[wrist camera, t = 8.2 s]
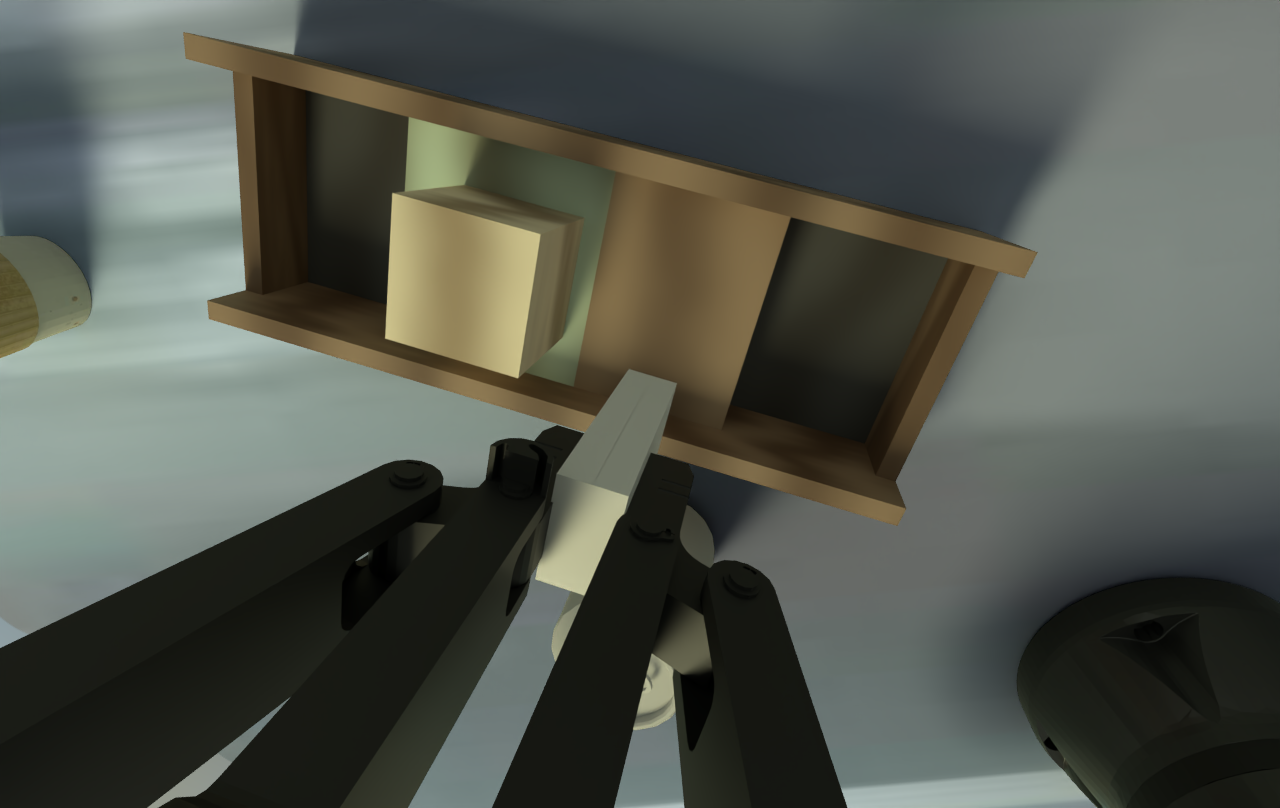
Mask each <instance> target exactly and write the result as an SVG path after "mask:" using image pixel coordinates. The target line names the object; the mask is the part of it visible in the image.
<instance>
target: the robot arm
mask: <svg viewBox="0 0 1280 808" xmlns="http://www.w3.org/2000/svg"><path fill="white" fill-rule="evenodd" d="M676 385H677V383H674V382H671V381H668V380H664V379H661V378H657V377H654V376H651V375H647V374H644V373H640V372H637V371H634V370H630V369H629V370H628V371H627V372H626V374H625V375H624V377H623V378H622V380H621V381H620V383H619V384H618V386H617V387H616V388H615V390H614V391H613V393H612V394H611V396H610V397H609V399H608V400H607V401H606V403H605V404H604V406H603V407H602V409H601V410H600V412H599V413H598V415H597V416H596V417H595V419H594V420H593V422H592V423H591V425H590V426H589V428H588V429H587V430H586V432H585V433H581V432H577V431H574V430H571V429H568V428H565V427H561V426H558V425H557V426H554V427H552V428H549V429H547V430H544V431H542V432H541V434H540V435H539V436H538V437H537V438H536V440H535V441H532V440H527V439H522V438H508V439H503V440H499V441H497V442H495V443H493V444H492V445H491V446H490V453H489V460H488V467H487V474H486V480H485V481H484V482H483V483H482V484H481V485H480V486H479V487H477V488H463V487H453V486H444V485H443V476H442V474H441V472H440V470H438V469H437V468H436V467H434V466H433V465H431V464H428V463H425V462H422V461H417V460H416V461H415V460H400V461H393V462H390V463H387V464H384V465H382V466H380V467H378V468H375V469H373V470H371V471H369V472H367V473H365V474H363V475H361V476H359V477H357V478H355V479H352V480H350V481H348V482H346V483H344V484H342V485H340V486H338V487H336V488H334V489H332V490H330V491H327V492H325V493H323V494H321V495H319V496H317V497H315V498H313V499H311V500H309V501H307V502H304V503H302V504H300V505H298V506H296V507H294V508H292V509H290V510H288V511H286V512H284V513H281V514H279V515H277V516H275V517H273V518H271V519H269V520H267V521H265V522H263V523H261V524H259V525H256V526H254V527H252V528H250V529H248V530H246V531H244V532H242V533H240V534H238V535H236V536H233V537H231V538H229V539H227V540H225V541H223V542H221V543H219V544H217V545H215V546H213V547H211V548H208V549H206V550H204V551H202V552H200V553H198V554H196V555H194V556H192V557H190V558H188V559H185V560H183V561H181V562H179V563H177V564H175V565H173V566H171V567H169V568H167V569H165V570H162V571H160V572H158V573H156V574H154V575H152V576H150V577H148V578H146V579H144V580H142V581H140V582H137V583H135V584H133V585H131V586H129V587H127V588H125V589H123V590H121V591H119V592H117V593H114V594H112V595H110V596H108V597H106V598H104V599H102V600H100V601H98V602H96V603H94V604H91V605H89V606H87V607H85V608H83V609H81V610H79V611H77V612H75V613H73V614H71V615H69V616H66V617H64V618H62V619H60V620H58V621H56V622H54V623H52V624H50V625H48V626H46V627H43V628H41V629H39V630H37V631H35V632H33V633H31V634H29V635H27V636H25V637H23V638H21V639H19V640H16V641H14V642H12V643H10V644H8V645H6V646H4V647H2V648H0V808H147V807H148V806H150V805H151V804H152V803H154V802H155V801H156V800H158V799H159V798H160V797H161V796H163V795H164V794H165V793H166V792H168V791H169V790H170V789H172V788H173V787H174V786H175V785H177V784H178V783H179V782H181V781H182V780H183V779H185V778H186V777H187V776H189V775H190V774H191V773H192V772H194V771H195V770H196V769H198V768H199V767H200V766H201V765H203V764H204V763H205V762H207V761H208V760H209V759H210V758H212V757H213V756H214V755H216V754H217V753H218V752H220V751H221V750H222V749H223V748H225V747H226V746H227V745H229V744H230V743H231V742H233V741H234V740H235V739H236V738H238V737H239V736H240V735H242V734H243V733H244V732H245V731H247V730H248V729H249V728H251V727H252V726H253V725H255V724H256V723H257V722H258V721H260V720H261V719H262V718H264V717H265V716H266V715H267V714H269V713H270V712H271V711H273V710H274V709H275V708H277V707H278V706H279V705H280V704H282V703H283V702H284V701H286V700H287V699H288V698H289V697H290V699H289V700H288V701H287V702H286V703H285V704H284V705H283V706H282V708H281V709H280V710H279V711H278V712H277V713H276V714H275V715H274V716H273V718H272V719H271V720H270V721H269V722H268V723H267V724H266V725H265V726H264V728H263V729H262V730H261V731H260V732H259V733H258V734H257V735H256V737H255V738H254V739H253V740H252V741H251V742H250V743H249V744H248V745H247V747H246V748H245V749H244V750H243V751H242V752H241V753H240V754H239V756H238V757H237V758H236V759H235V760H234V761H233V762H232V763H231V765H230V766H229V767H228V768H227V769H226V770H225V771H224V772H223V773H222V775H221V776H220V777H219V778H218V779H217V780H216V781H215V782H214V783H213V784H212V785H211V786H210V787H209V788H208V789H207V790H205V791H204V792H202V793H201V794H199V795H197V796H195V797H181V798H180V797H179V798H174V799H172V800H171V801H169V802H167V803H166V804H164V805H162V806H161V807H159V808H408V806H409V805H410V803H411V801H412V799H413V797H414V796H415V794H416V792H417V790H418V788H419V787H420V785H421V783H422V781H423V780H424V778H425V776H426V774H427V772H428V771H429V769H430V767H431V765H432V763H433V762H434V760H435V758H436V756H437V755H438V753H439V751H440V749H441V747H442V746H443V744H444V742H445V740H446V738H447V737H448V735H449V733H450V731H451V730H452V728H453V726H454V724H455V722H456V721H457V719H458V717H459V715H460V714H461V712H462V710H463V708H464V706H465V705H466V703H467V701H468V699H469V697H470V696H471V694H472V692H473V690H474V689H475V687H476V685H477V683H478V681H479V680H480V678H481V676H482V674H483V672H484V671H485V669H486V667H487V665H488V664H489V662H490V660H491V658H492V656H493V655H494V653H495V651H496V649H497V647H498V646H499V644H500V642H501V640H502V639H503V637H504V635H505V633H506V631H507V630H508V628H509V626H510V624H511V622H512V621H513V619H514V617H515V615H516V614H517V612H518V610H519V608H520V606H521V605H522V603H523V601H524V599H525V597H526V596H527V592H528V588H529V583H530V578H531V575H532V573H533V572H534V570H535V568H536V566H537V565H538V569H537V574H536V579H537V580H540V581H543V582H546V583H549V584H552V585H555V586H558V587H560V588H563V589H566V590H569V591H572V592H575V593H578V594H581V595H584V598H583V600H582V602H581V605H580V607H579V609H578V611H577V614H576V616H575V618H574V621H573V623H572V625H571V628H570V630H569V632H568V634H567V637H566V639H565V641H564V644H563V646H562V648H561V650H560V653H559V655H558V657H557V660H556V662H555V664H554V667H553V669H552V671H551V673H550V676H549V678H548V680H547V683H546V685H545V687H544V690H543V692H542V694H541V696H540V699H539V701H538V703H537V706H536V708H535V710H534V712H533V715H532V717H531V719H530V722H529V724H528V726H527V729H526V731H525V733H524V735H523V738H522V740H521V742H520V745H519V747H518V749H517V752H516V754H515V756H514V758H513V761H512V763H511V765H510V768H509V770H508V772H507V774H506V777H505V779H504V781H503V784H502V786H501V788H500V791H499V793H498V795H497V797H496V800H495V802H494V804H493V807H492V808H614V805H615V801H616V797H617V793H618V789H619V785H620V781H621V777H622V772H623V768H624V764H625V760H626V756H627V752H628V748H629V744H630V740H631V736H632V732H633V728H634V724H635V720H636V716H637V712H638V708H639V703H640V699H641V695H642V691H643V687H644V683H645V679H646V675H647V671H648V667H649V663H650V659H651V655H652V654H653V655H655V656H656V657H658V658H659V659H661V660H662V661H664V662H665V663H667V664H668V665H670V666H671V667H672V668H674V670H673V677H672V678H673V689H674V700H675V710H676V721H677V732H678V742H679V753H680V764H681V774H682V785H683V796H684V806H685V808H847V805H846V802H845V799H844V796H843V793H842V790H841V787H840V784H839V781H838V778H837V775H836V772H835V769H834V766H833V763H832V760H831V757H830V754H829V751H828V748H827V745H826V742H825V739H824V736H823V733H822V730H821V727H820V724H819V721H818V718H817V715H816V712H815V709H814V706H813V703H812V700H811V697H810V694H809V691H808V688H807V685H806V682H805V679H804V676H803V673H802V670H801V667H800V664H799V661H798V658H797V655H796V652H795V649H794V646H793V643H792V640H791V637H790V634H789V631H788V628H787V625H786V622H785V619H784V615H783V612H782V609H781V606H780V603H779V600H778V597H777V594H776V591H775V589H774V587H773V585H772V584H771V582H770V580H769V579H768V578H767V577H766V576H765V575H764V574H763V573H761V572H760V571H759V570H757V569H755V568H754V567H752V566H750V565H748V564H745V563H742V562H738V561H730V560H723V561H720V562H717V563H714V564H713V565H712V566H711V567H710V568H709V567H707V566H706V565H704V564H702V563H701V562H699V561H698V560H696V559H695V558H693V557H692V556H691V555H690V554H689V553H688V552H687V551H686V549H685V548H684V546H683V545H682V542H681V539H680V531H681V527H682V523H683V519H684V514H685V510H686V506H687V502H688V498H689V494H690V490H691V486H692V482H693V478H694V476H693V473H692V471H691V469H690V467H689V464H686V463H683V462H680V461H676V460H673V459H670V458H667V457H663V456H660V455H657V453H658V450H659V446H660V442H661V439H662V435H663V432H664V428H665V425H666V421H667V417H668V414H669V410H670V407H671V403H672V400H673V396H674V392H675V389H676ZM367 552H368V555H367V556H365V557H364V558H362V559H361V560H358V561H356V560H357V559H358V558H359V557H361V556H362V555H364V554H365V553H367ZM538 563H539V564H538ZM1017 691H1018V696H1019V700H1020V703H1021V705H1022V708H1023V710H1024V712H1025V714H1026V716H1027V718H1028V721H1029V723H1030V725H1031V727H1032V729H1033V731H1034V733H1035V735H1036V737H1037V739H1038V740H1039V742H1040V744H1041V745H1042V747H1043V748H1044V749H1045V751H1046V752H1047V753H1048V755H1049V756H1050V757H1051V758H1052V759H1053V760H1054V761H1055V762H1056V763H1057V764H1058V766H1059V767H1061V768H1062V769H1063V770H1064V771H1065V772H1066V774H1067V775H1068V776H1069V777H1070V779H1071V780H1072V781H1073V782H1074V783H1075V784H1076V785H1077V786H1078V788H1079V789H1080V790H1081V791H1082V792H1083V793H1084V794H1085V795H1086V796H1087V797H1088V798H1089V800H1090V801H1091V802H1092V803H1093V804H1094V805H1095V806H1096V807H1097V808H1280V603H1278V602H1276V601H1275V600H1273V599H1271V598H1269V597H1267V596H1265V595H1263V594H1261V593H1259V592H1256V591H1254V590H1251V589H1248V588H1245V587H1242V586H1239V585H1235V584H1231V583H1227V582H1222V581H1216V580H1209V579H1199V578H1163V579H1153V580H1145V581H1139V582H1134V583H1129V584H1125V585H1121V586H1117V587H1114V588H1110V589H1107V590H1104V591H1101V592H1099V593H1096V594H1094V595H1091V596H1089V597H1087V598H1085V599H1083V600H1081V601H1079V602H1077V603H1075V604H1073V605H1071V606H1070V607H1068V608H1067V609H1065V610H1063V611H1062V612H1060V613H1059V614H1058V615H1056V616H1055V617H1054V618H1052V619H1051V620H1050V621H1049V622H1048V623H1047V624H1046V625H1044V626H1043V627H1042V628H1041V629H1040V631H1039V632H1038V633H1037V634H1036V635H1035V636H1034V638H1033V639H1032V640H1031V642H1030V643H1029V645H1028V646H1027V648H1026V650H1025V652H1024V654H1023V656H1022V658H1021V661H1020V664H1019V668H1018V673H1017Z"/></svg>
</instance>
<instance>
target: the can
mask: <svg viewBox="0 0 1280 808" xmlns="http://www.w3.org/2000/svg"><path fill="white" fill-rule="evenodd" d="M680 539H681V542H682V545H683V546H684V548H685V549H686V551H687V552H688V553H689V554H690V555H691V556H692V557H693V558H695V559H696V560H698V561H699V562H701V563H702V564H704V565H706V566H707V567H709V568H710V567H711V566H712V565H713V560H714V552H715V550H714V543H713V536H712V533H711V532H710V530H709V528H708V526H707V524H706V522H705V520H704V519H703V518H702V517H701V516H700V515H699V514H698V513H697V512H696V511H695V510H694V509H693V508H692V507H690V506H688V505H687V506H686V510H685V514H684V519H683V523H682V527H681V531H680ZM583 598H584V595H581V594H578V593H575V592H572V591H571V592H570V594H569V597H568V599H567V601H566V604H565V606H564V608H563V610H562V613H561V615H560V617H559V619H558V622H557V624H556V626H555V629H554V631H553V640H552V651H553V655H554V658H555V662H556V660H557V657H558V655H559V653H560V650H561V648H562V646H563V644H564V641H565V639H566V637H567V634H568V632H569V630H570V628H571V625H572V623H573V621H574V618H575V616H576V614H577V611H578V609H579V607H580V605H581V602H582V600H583ZM673 670H674V668H672V667H671V666H670V665H668V664H667V663H665V662H664V661H662V660H661V659H659V658H658V657H656V656H655V655H653V654H652V655H651V659H650V663H649V667H648V671H647V675H646V679H645V683H644V687H643V691H642V695H641V699H640V703H639V708H638V712H637V716H636V720H635V724H634V728H633V730H639V729H644V728H650V727H655V726H657V725H659V724H661V723H663V722H664V721H666V720H668V719H670V718H671V717H672V716H673V714H674V713H675V712H676V710H675V700H674V689H673V678H672V677H673Z"/></svg>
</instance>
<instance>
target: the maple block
mask: <svg viewBox="0 0 1280 808" xmlns="http://www.w3.org/2000/svg"><path fill="white" fill-rule="evenodd" d="M584 220H585V218H583V217H580V216H576V215H572V214H569V213H565V212H561V211H558V210H554V209H551V208H547V207H543V206H540V205H536V204H532V203H529V202H525V201H521V200H518V199H514V198H511V197H507V196H503V195H500V194H496V193H492V192H489V191H485V190H481V189H478V188H474V187H470V186H467V185H459V186H450V187H441V188H432V189H423V190H414V191H405V192H396V193H392V212H391V232H390V252H389V272H388V293H387V313H386V333H385V339H389V340H392V341H395V342H399V343H402V344H405V345H409V346H412V347H415V348H419V349H422V350H425V351H429V352H432V353H435V354H439V355H442V356H445V357H449V358H452V359H455V360H459V361H462V362H465V363H469V364H472V365H475V366H479V367H482V368H485V369H489V370H492V371H495V372H499V373H502V374H505V375H509V376H512V377H515V378H519V377H520V376H521V375H522V374H523V373H525V372H526V371H527V370H528V369H529V368H530V367H531V366H532V365H533V364H534V363H535V362H536V361H538V360H539V359H540V358H541V357H542V356H543V355H544V354H545V353H546V352H547V351H548V350H549V349H551V348H552V347H553V346H554V345H555V344H556V343H557V342H558V341H559V340H560V339H561V338H563V333H564V327H565V322H566V316H567V311H568V306H569V300H570V295H571V290H572V284H573V279H574V273H575V268H576V263H577V257H578V252H579V246H580V241H581V236H582V230H583V225H584Z"/></svg>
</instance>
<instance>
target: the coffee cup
mask: <svg viewBox="0 0 1280 808" xmlns="http://www.w3.org/2000/svg"><path fill="white" fill-rule="evenodd" d="M90 310H91V295H90V290H89V287H88V284H87V281H86V279H85V277H84V275H83V273H82V272H81V270H80V269H79V267H78V265H77V264H76V263H75V262H74V260H73V259H72V258H71V257H70V256H69V255H68V254H67V253H66V252H65V251H64V250H63V249H61V248H60V247H59V246H57V245H56V244H54V243H53V242H51V241H49V240H47V239H44V238H41V237H38V236H0V358H2V357H4V356H7V355H10V354H12V353H15V352H17V351H20V350H22V349H25V348H27V347H29V346H30V345H31V344H32V343H34V342H36V341H39V340H42V339H44V338H47V337H50V336H52V335H55V334H58V333H60V332H63V331H66V330H68V329H71V328H74V327H76V326H79V325H81V324H83V323H84V322H85V321H86V320H87V318H88V316H89V314H90Z"/></svg>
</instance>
